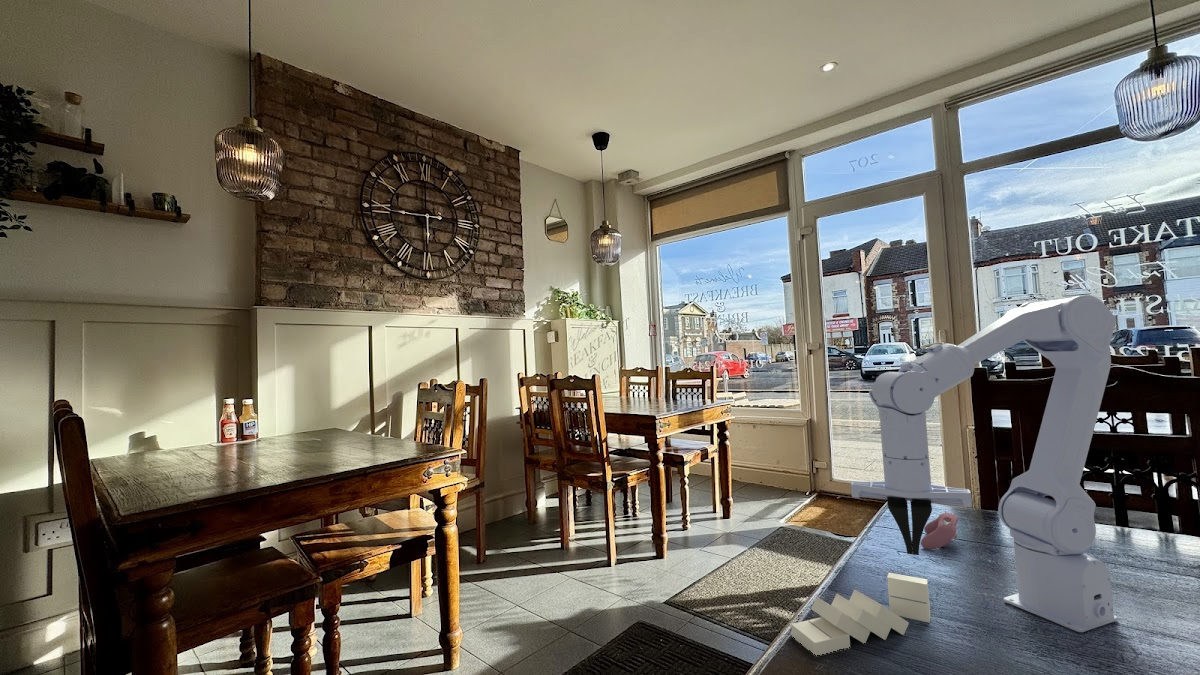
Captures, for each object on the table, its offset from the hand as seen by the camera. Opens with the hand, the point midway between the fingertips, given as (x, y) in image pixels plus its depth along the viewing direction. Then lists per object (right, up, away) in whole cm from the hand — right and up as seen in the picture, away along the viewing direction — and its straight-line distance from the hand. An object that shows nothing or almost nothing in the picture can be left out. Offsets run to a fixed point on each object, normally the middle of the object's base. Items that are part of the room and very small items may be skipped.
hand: (912, 552), depth 72 cm
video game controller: (+21, -9, +25) cm, 33 cm away
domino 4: (-4, -8, -2) cm, 10 cm away
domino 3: (-7, -9, -3) cm, 12 cm away
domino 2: (-10, -9, -4) cm, 14 cm away
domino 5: (0, -9, 0) cm, 9 cm away
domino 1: (-13, -9, -5) cm, 16 cm away
